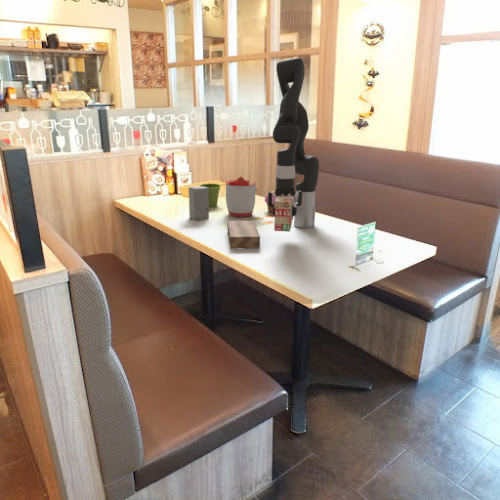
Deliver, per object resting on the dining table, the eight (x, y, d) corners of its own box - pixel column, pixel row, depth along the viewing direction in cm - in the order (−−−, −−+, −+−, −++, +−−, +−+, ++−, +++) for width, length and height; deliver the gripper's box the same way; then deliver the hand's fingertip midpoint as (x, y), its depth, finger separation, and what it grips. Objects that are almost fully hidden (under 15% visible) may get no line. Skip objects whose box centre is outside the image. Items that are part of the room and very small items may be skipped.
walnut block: (253, 231, 205) (253, 220, 204) (259, 248, 183) (259, 236, 181) (227, 231, 204) (227, 220, 203) (230, 248, 182) (230, 237, 180)
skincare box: (194, 220, 221) (194, 189, 215) (188, 217, 226) (187, 186, 221) (210, 218, 225) (209, 187, 220) (203, 215, 231) (202, 185, 225)
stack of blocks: (279, 216, 197) (280, 188, 192) (293, 217, 196) (294, 189, 191) (274, 231, 177) (274, 200, 172) (290, 231, 176) (291, 201, 172)
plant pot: (197, 204, 254) (196, 184, 250) (216, 202, 259) (216, 182, 255) (204, 208, 244) (203, 188, 240) (224, 206, 249) (224, 186, 245)
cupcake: (280, 213, 236) (281, 195, 233) (264, 213, 236) (264, 194, 233) (280, 209, 245) (280, 191, 241) (264, 209, 245) (264, 191, 241)
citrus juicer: (264, 215, 232) (265, 177, 225) (236, 220, 222) (236, 180, 216) (246, 209, 244) (247, 172, 237) (219, 213, 234) (219, 175, 228)
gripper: (301, 174, 183) (299, 213, 189) (266, 174, 182) (265, 214, 187) (305, 177, 176) (303, 218, 182) (269, 178, 175) (268, 219, 180)
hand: (284, 216), depth 184 cm, fingers closed on stack of blocks, 7 cm apart
